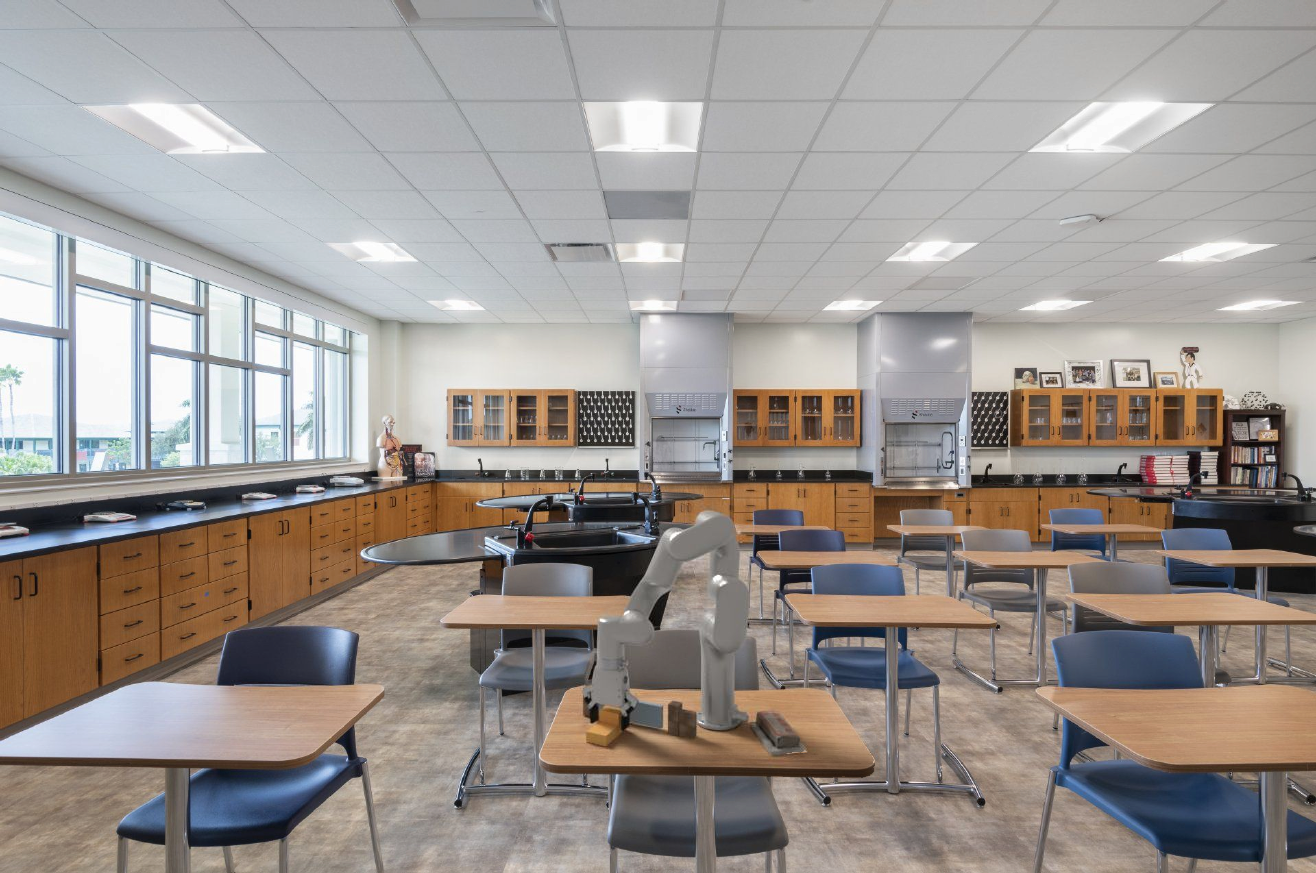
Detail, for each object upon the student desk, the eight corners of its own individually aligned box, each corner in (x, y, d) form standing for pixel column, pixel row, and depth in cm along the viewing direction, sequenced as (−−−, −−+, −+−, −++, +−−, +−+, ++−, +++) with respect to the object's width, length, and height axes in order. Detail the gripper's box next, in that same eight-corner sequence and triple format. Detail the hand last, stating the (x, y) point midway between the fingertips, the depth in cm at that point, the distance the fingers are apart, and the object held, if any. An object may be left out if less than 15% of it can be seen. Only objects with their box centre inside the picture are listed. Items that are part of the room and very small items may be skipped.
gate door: (595, 714, 183) (595, 693, 183) (597, 713, 184) (597, 692, 184) (661, 728, 174) (661, 706, 174) (663, 727, 175) (663, 705, 175)
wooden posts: (697, 734, 171) (697, 705, 172) (693, 739, 169) (693, 709, 169) (588, 711, 186) (588, 684, 186) (582, 715, 184) (583, 687, 184)
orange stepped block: (606, 726, 177) (606, 704, 177) (625, 730, 175) (625, 708, 175) (586, 742, 167) (586, 720, 167) (606, 747, 165) (606, 724, 165)
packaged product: (749, 709, 178) (783, 707, 179) (749, 727, 177) (783, 724, 179) (770, 738, 160) (808, 735, 161) (770, 757, 160) (808, 754, 161)
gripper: (644, 663, 173) (643, 726, 172) (590, 653, 180) (589, 714, 180) (632, 671, 166) (630, 737, 166) (576, 661, 173) (575, 724, 173)
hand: (609, 725), depth 173 cm, fingers open, 9 cm apart
